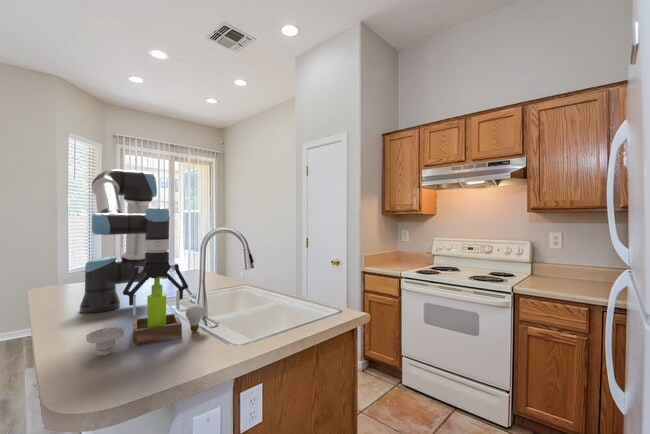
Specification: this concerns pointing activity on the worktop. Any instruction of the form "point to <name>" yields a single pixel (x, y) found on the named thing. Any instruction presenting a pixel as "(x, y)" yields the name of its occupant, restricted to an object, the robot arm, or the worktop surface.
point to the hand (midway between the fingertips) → (156, 311)
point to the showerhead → (105, 338)
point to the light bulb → (194, 316)
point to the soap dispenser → (156, 305)
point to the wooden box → (156, 330)
